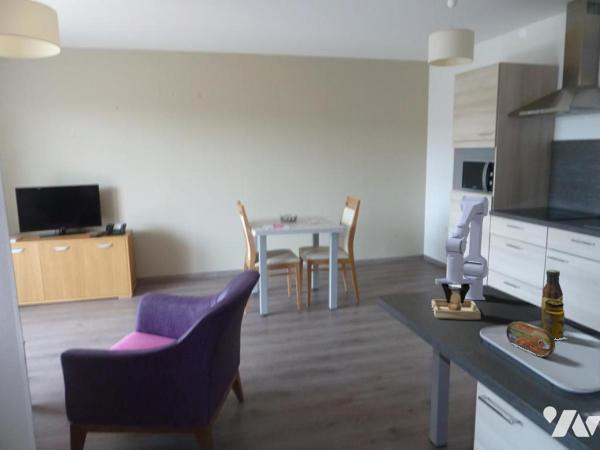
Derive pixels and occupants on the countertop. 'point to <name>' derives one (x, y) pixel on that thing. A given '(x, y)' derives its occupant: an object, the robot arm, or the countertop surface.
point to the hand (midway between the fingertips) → (454, 302)
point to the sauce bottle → (552, 288)
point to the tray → (466, 312)
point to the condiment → (554, 318)
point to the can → (455, 298)
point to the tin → (531, 338)
